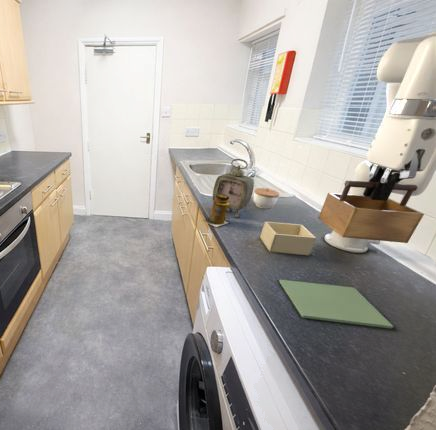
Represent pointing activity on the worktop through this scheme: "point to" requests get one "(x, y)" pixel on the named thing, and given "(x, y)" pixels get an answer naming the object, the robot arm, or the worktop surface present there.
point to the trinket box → (265, 197)
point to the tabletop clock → (235, 188)
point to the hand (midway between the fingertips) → (374, 197)
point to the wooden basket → (370, 214)
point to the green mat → (333, 304)
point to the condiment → (218, 211)
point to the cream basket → (287, 238)
